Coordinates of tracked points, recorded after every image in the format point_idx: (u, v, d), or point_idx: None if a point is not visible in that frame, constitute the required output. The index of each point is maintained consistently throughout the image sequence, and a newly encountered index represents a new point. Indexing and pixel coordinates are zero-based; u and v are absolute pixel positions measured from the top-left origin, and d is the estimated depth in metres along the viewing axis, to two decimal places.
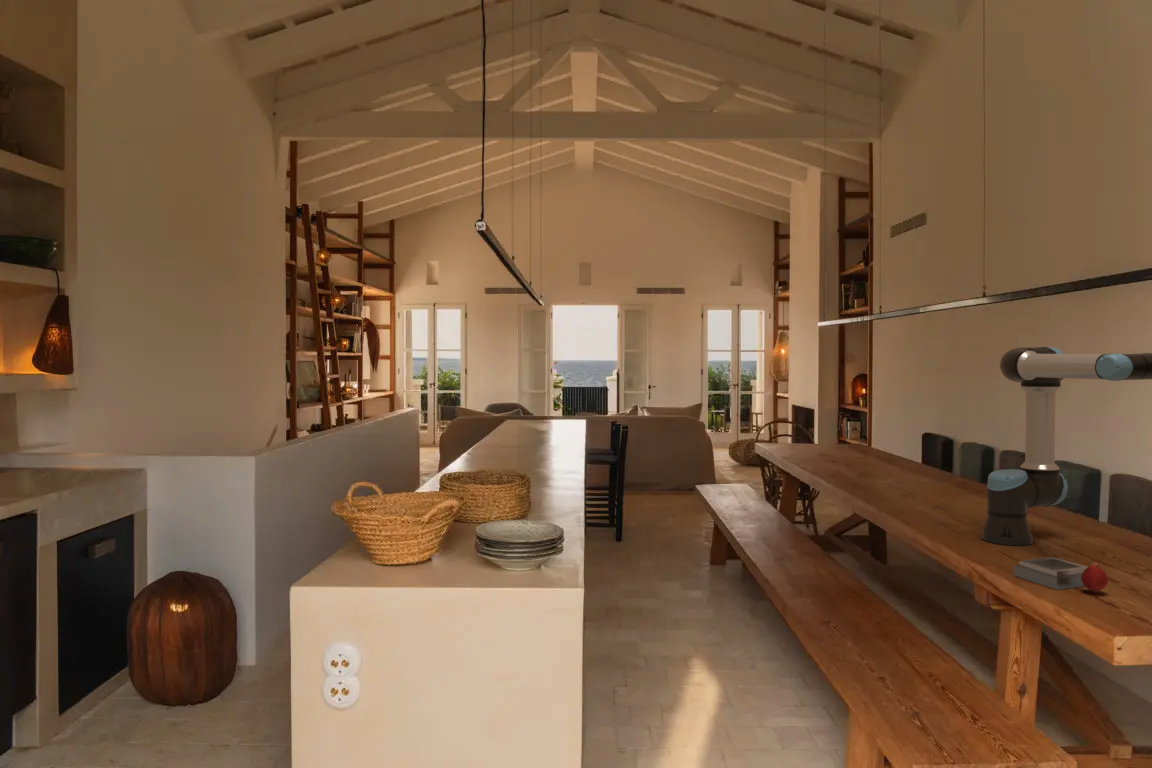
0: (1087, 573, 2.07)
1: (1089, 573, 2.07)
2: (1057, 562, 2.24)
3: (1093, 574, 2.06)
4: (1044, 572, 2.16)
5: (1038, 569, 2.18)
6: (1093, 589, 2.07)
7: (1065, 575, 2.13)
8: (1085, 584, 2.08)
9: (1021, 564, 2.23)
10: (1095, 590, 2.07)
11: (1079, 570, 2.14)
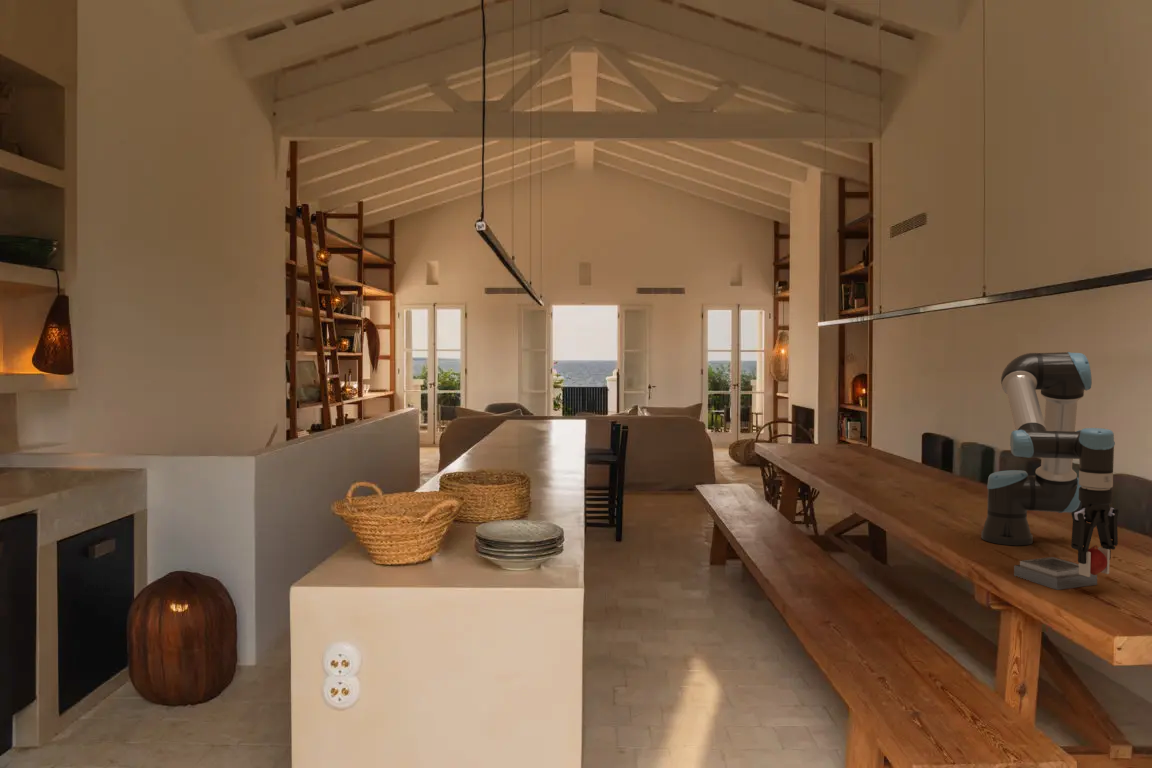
0: None
1: None
2: (1057, 562, 2.24)
3: (1093, 557, 2.06)
4: (1044, 572, 2.16)
5: (1038, 569, 2.18)
6: (1092, 571, 2.07)
7: (1065, 575, 2.13)
8: None
9: (1021, 564, 2.23)
10: (1094, 572, 2.07)
11: None
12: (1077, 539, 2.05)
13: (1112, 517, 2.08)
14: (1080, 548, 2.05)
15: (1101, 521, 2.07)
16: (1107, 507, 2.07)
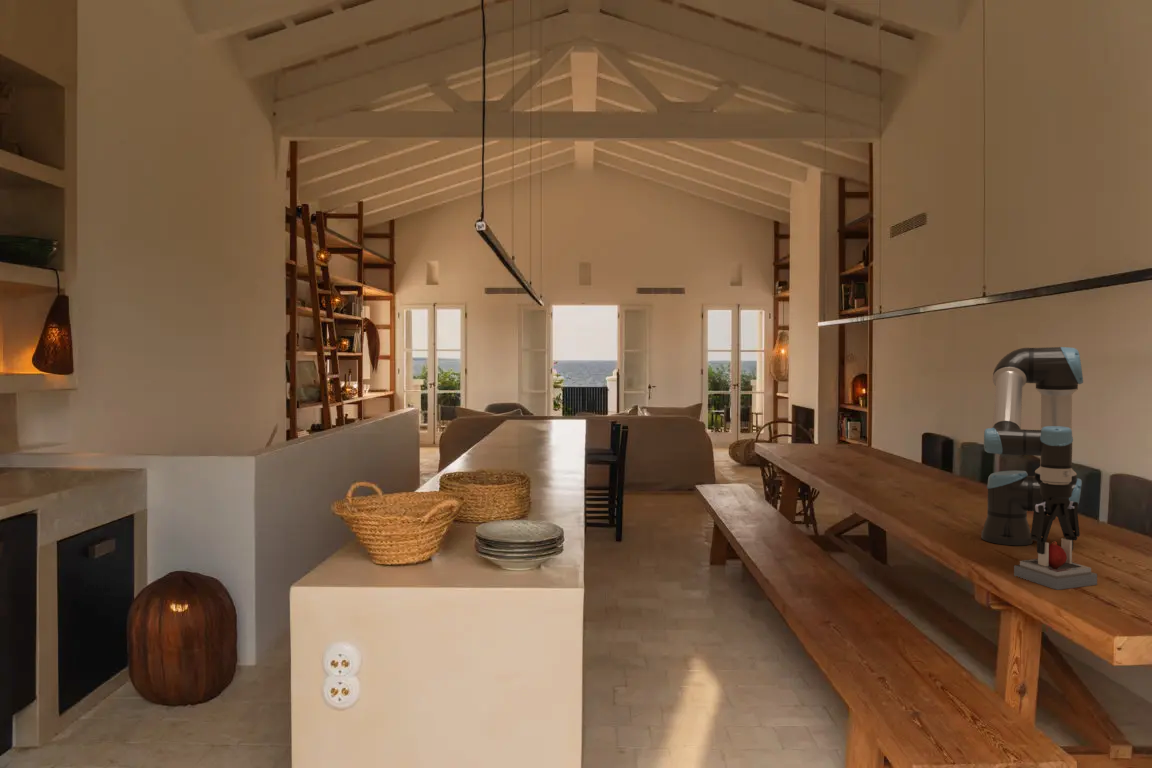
0: None
1: (1049, 551, 2.18)
2: None
3: (1052, 552, 2.17)
4: (1044, 572, 2.16)
5: (1038, 569, 2.18)
6: (1053, 566, 2.18)
7: (1065, 575, 2.13)
8: None
9: (1021, 564, 2.23)
10: (1055, 567, 2.18)
11: (1079, 570, 2.14)
12: (1036, 530, 2.16)
13: (1073, 510, 2.19)
14: (1038, 539, 2.16)
15: (1061, 514, 2.18)
16: (1067, 501, 2.18)
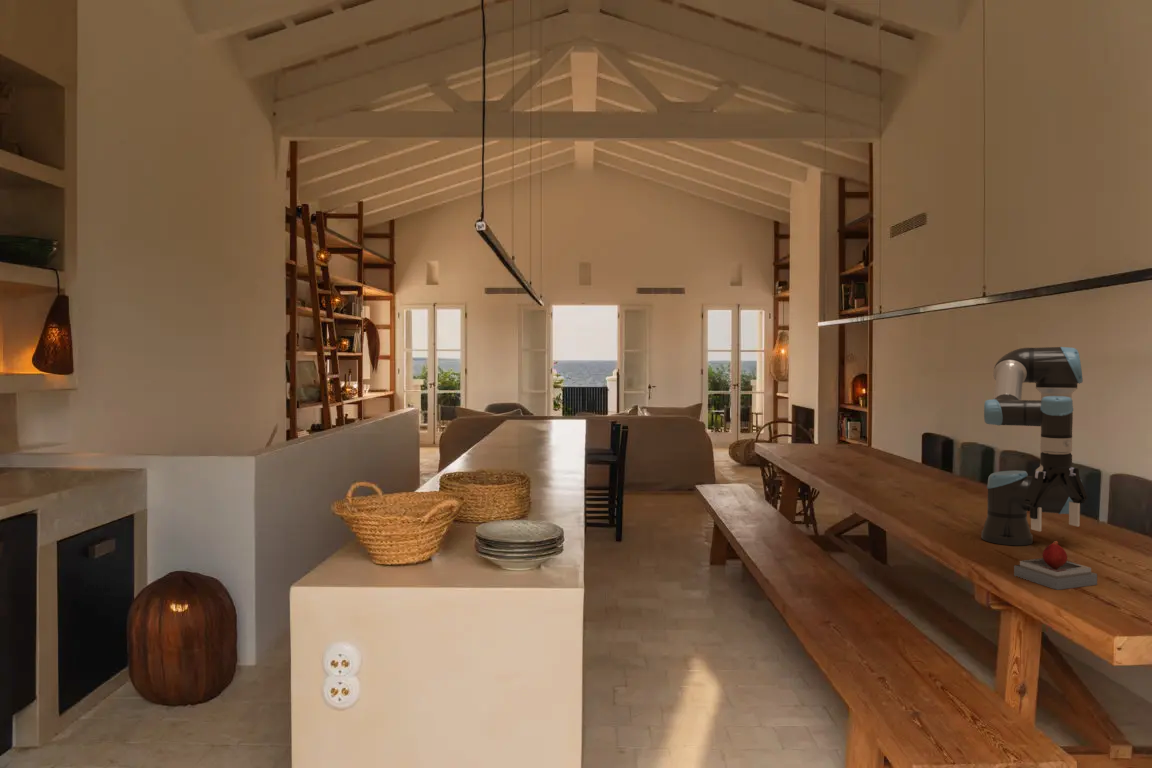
0: (1047, 551, 2.19)
1: (1050, 550, 2.18)
2: None
3: (1053, 552, 2.18)
4: (1044, 572, 2.16)
5: (1038, 569, 2.18)
6: (1053, 566, 2.18)
7: (1065, 575, 2.13)
8: (1046, 561, 2.19)
9: (1021, 564, 2.23)
10: (1055, 567, 2.18)
11: (1079, 570, 2.14)
12: (1031, 495, 2.16)
13: (1075, 477, 2.19)
14: (1031, 503, 2.15)
15: (1061, 484, 2.18)
16: (1067, 471, 2.18)
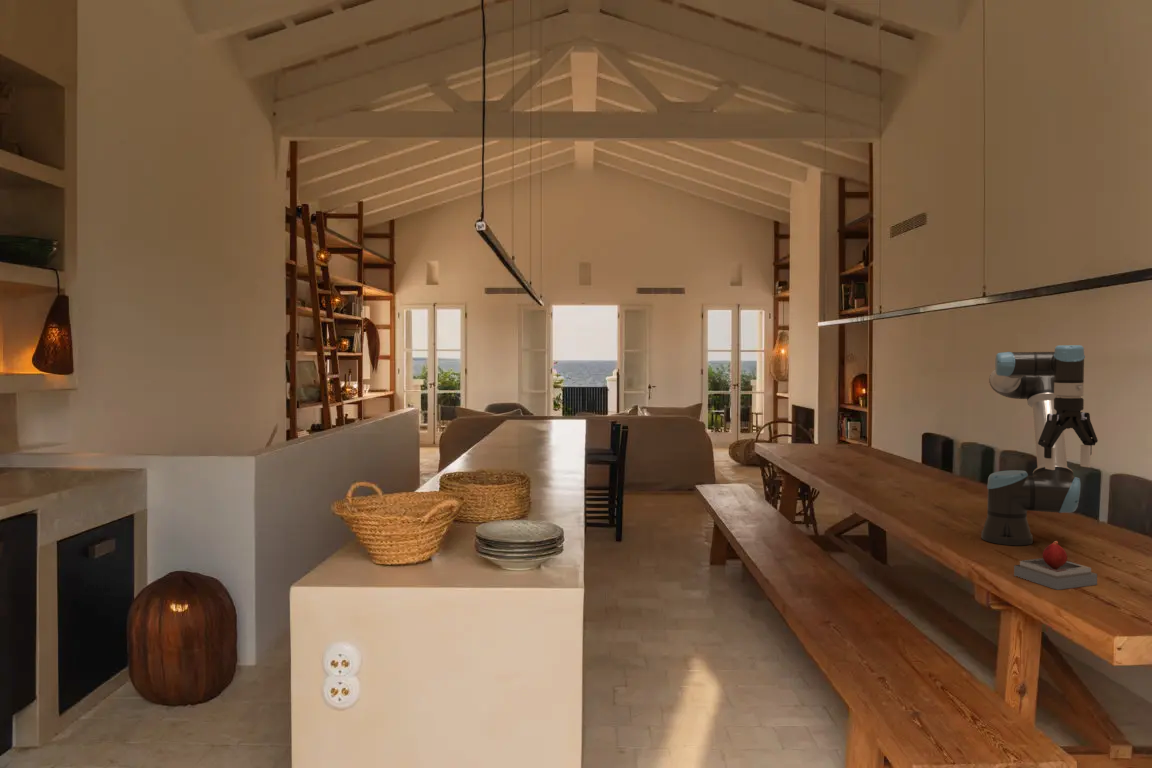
0: (1047, 551, 2.19)
1: (1050, 550, 2.18)
2: None
3: (1053, 552, 2.18)
4: (1044, 572, 2.16)
5: (1038, 569, 2.18)
6: (1053, 566, 2.18)
7: (1065, 575, 2.13)
8: (1046, 561, 2.19)
9: (1021, 564, 2.23)
10: (1055, 567, 2.18)
11: (1079, 570, 2.14)
12: (1045, 436, 2.32)
13: (1086, 420, 2.35)
14: (1046, 443, 2.31)
15: (1073, 427, 2.34)
16: (1078, 415, 2.34)
